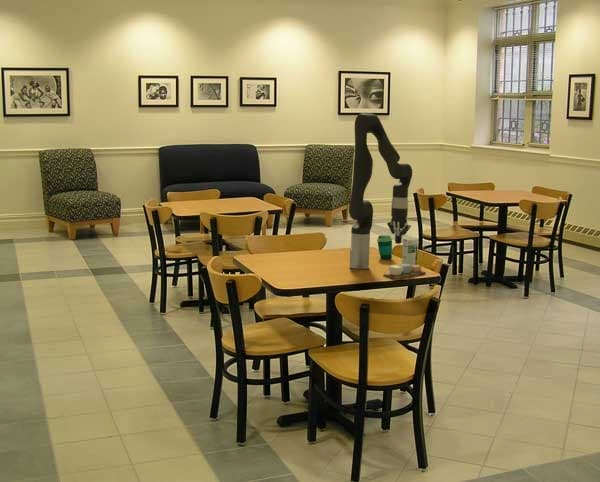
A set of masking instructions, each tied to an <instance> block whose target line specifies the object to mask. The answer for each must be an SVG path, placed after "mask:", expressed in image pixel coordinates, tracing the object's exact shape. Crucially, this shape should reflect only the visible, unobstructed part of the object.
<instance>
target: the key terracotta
mask: <svg viewBox="0 0 600 482" xmlns="http://www.w3.org/2000/svg"><path fill="white" fill-rule="evenodd" d="M419 271H422V266H421V265H418V264H417V265H414V264H413V265H412V269H411V272H414V273H415V272H419Z"/></svg>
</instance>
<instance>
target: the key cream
mask: <svg viewBox="0 0 600 482" xmlns="http://www.w3.org/2000/svg"><path fill="white" fill-rule="evenodd" d="M388 271H389V273H390V274H392V275H400V274H401V272H402V271H403V267H402V266H398V264H394V265H388Z"/></svg>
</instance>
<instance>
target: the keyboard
mask: <svg viewBox="0 0 600 482" xmlns="http://www.w3.org/2000/svg"><path fill="white" fill-rule="evenodd" d="M426 274H427V272H426V271H424V270H420V271H419V272H415V273H414V272H411V273H406V274H405V273H401V274H400V275H392V274H390V272H387V273H383V277H384V276H387V277H386V278H388V277H390V278H389V279H393V280H397V281H398V280H403V279H408V278H414V277H419V276H424V275H426Z"/></svg>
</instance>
